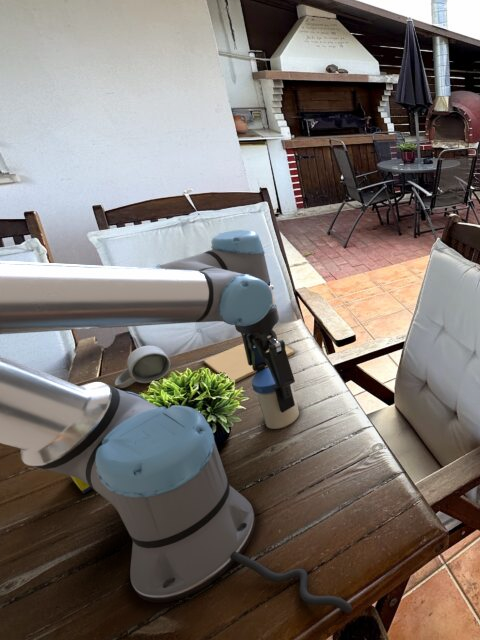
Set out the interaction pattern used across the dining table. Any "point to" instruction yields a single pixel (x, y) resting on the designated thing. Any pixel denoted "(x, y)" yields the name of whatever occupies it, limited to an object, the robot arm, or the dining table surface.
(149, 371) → the ceramic mug
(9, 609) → the dining table surface
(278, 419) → the jar
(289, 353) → the mat
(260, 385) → the lid
